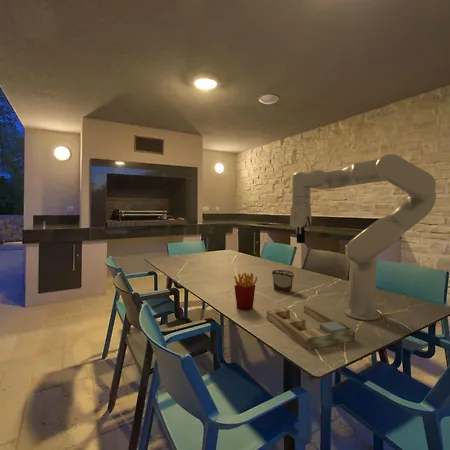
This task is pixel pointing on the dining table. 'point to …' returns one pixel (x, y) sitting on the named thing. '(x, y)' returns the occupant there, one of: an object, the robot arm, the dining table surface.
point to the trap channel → (312, 336)
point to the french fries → (245, 291)
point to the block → (331, 327)
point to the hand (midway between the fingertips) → (300, 242)
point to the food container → (283, 280)
